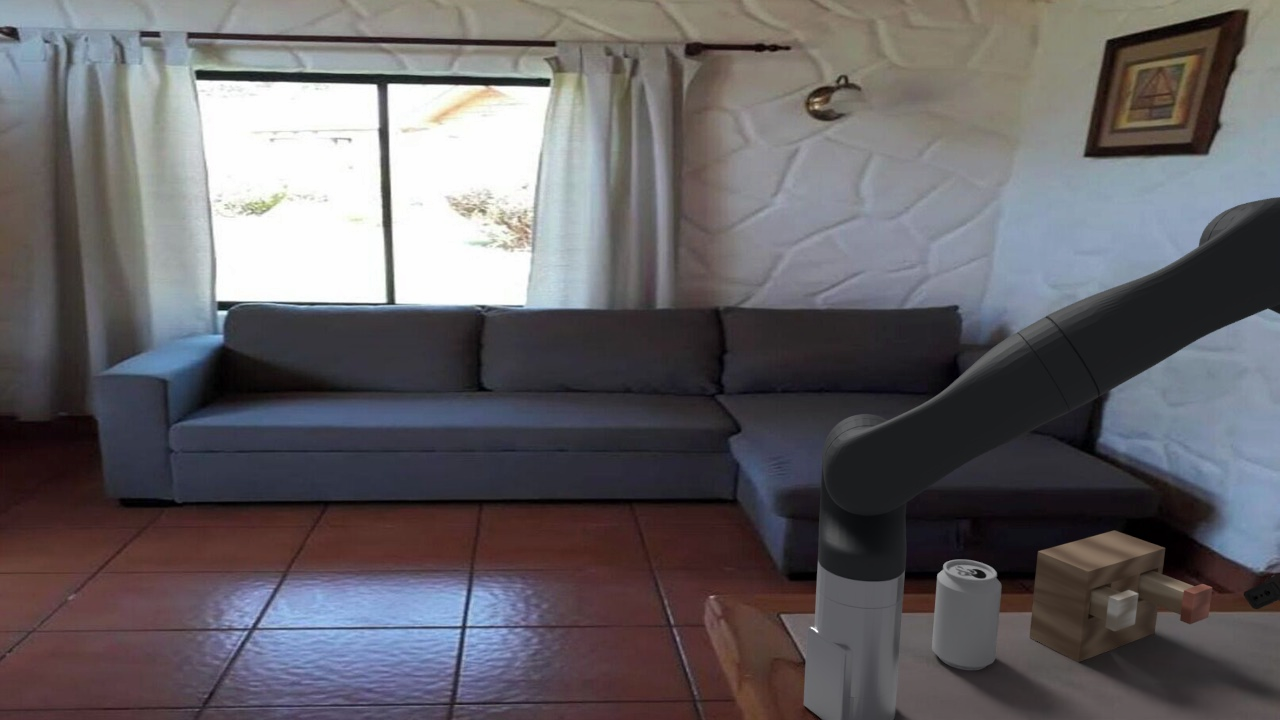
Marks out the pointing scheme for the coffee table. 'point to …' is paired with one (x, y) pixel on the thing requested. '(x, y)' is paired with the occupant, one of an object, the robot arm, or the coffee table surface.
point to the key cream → (1113, 607)
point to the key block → (1068, 592)
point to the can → (966, 614)
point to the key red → (1176, 596)
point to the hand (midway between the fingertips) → (1251, 600)
